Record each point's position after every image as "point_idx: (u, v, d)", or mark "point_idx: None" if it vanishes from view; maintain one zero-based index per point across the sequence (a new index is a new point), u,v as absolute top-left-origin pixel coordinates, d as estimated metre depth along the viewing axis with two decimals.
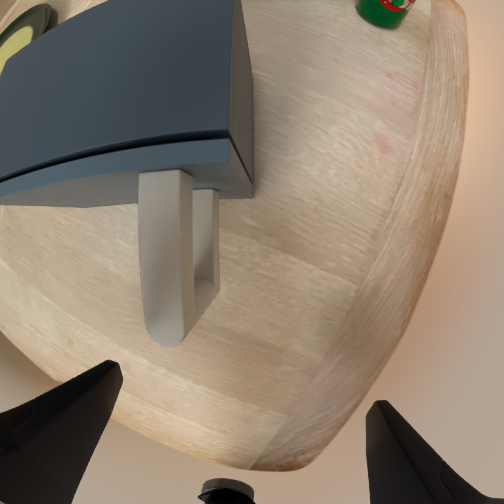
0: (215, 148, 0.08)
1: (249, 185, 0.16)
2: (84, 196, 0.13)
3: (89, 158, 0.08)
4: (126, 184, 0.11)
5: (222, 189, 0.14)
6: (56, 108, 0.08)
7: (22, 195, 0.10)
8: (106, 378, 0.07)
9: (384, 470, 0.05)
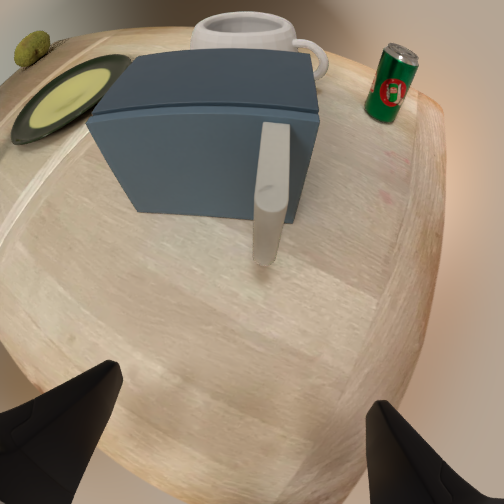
0: (312, 116, 0.14)
1: None
2: (177, 164, 0.19)
3: (230, 107, 0.14)
4: (234, 145, 0.17)
5: None
6: (202, 83, 0.15)
7: (144, 127, 0.15)
8: (106, 378, 0.07)
9: (384, 470, 0.05)
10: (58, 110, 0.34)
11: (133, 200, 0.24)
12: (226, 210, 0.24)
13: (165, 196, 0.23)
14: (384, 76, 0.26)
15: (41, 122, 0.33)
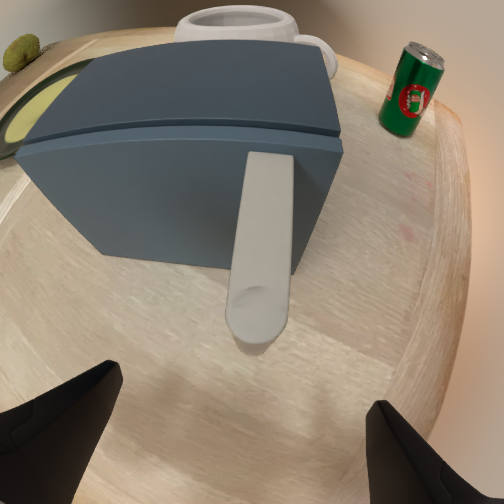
0: (330, 141, 0.09)
1: None
2: (132, 209, 0.13)
3: (195, 126, 0.09)
4: (205, 185, 0.11)
5: None
6: (160, 89, 0.10)
7: (77, 161, 0.10)
8: (106, 378, 0.07)
9: (384, 470, 0.05)
10: (33, 121, 0.29)
11: (93, 243, 0.18)
12: (207, 260, 0.19)
13: (128, 242, 0.17)
14: (404, 81, 0.21)
15: (15, 136, 0.27)
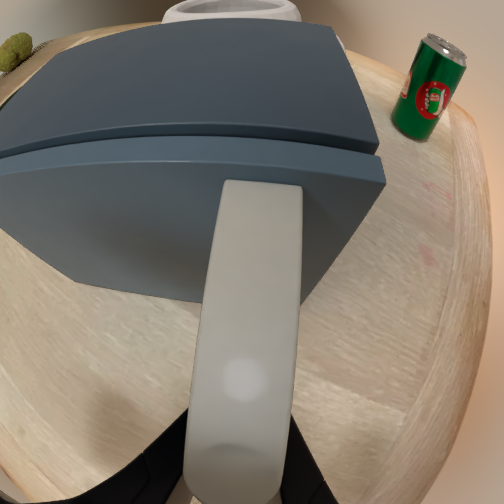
0: (365, 162, 0.05)
1: None
2: (87, 245, 0.10)
3: (141, 139, 0.05)
4: (168, 225, 0.07)
5: None
6: (108, 84, 0.06)
7: (9, 192, 0.06)
8: None
9: None
10: None
11: (62, 272, 0.15)
12: (190, 296, 0.15)
13: (97, 274, 0.14)
14: (423, 77, 0.17)
15: None
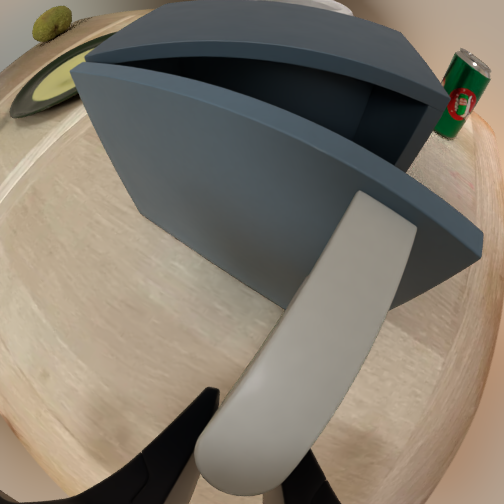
0: (471, 232, 0.05)
1: None
2: (179, 186, 0.11)
3: (296, 116, 0.06)
4: (277, 204, 0.08)
5: None
6: (268, 26, 0.08)
7: (129, 101, 0.07)
8: (213, 408, 0.07)
9: None
10: (66, 82, 0.28)
11: (133, 198, 0.17)
12: (245, 277, 0.16)
13: (168, 217, 0.15)
14: (454, 84, 0.18)
15: (44, 95, 0.26)
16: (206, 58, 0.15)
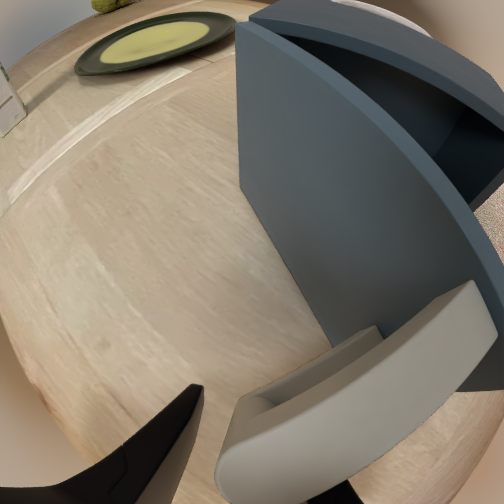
0: None
1: None
2: (300, 184, 0.11)
3: (450, 183, 0.05)
4: (390, 251, 0.07)
5: None
6: (417, 50, 0.08)
7: (292, 82, 0.08)
8: (196, 405, 0.07)
9: None
10: (140, 50, 0.30)
11: (241, 171, 0.17)
12: (311, 295, 0.15)
13: (268, 204, 0.15)
14: None
15: (115, 58, 0.29)
16: (325, 55, 0.16)
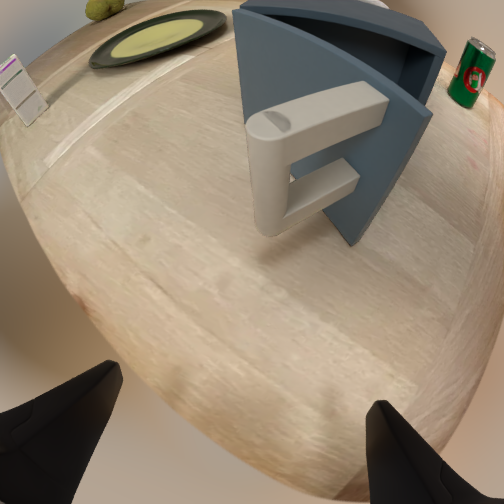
0: (422, 108, 0.08)
1: (373, 215, 0.15)
2: (281, 91, 0.16)
3: (344, 52, 0.10)
4: None
5: (361, 187, 0.14)
6: (348, 10, 0.13)
7: (267, 34, 0.12)
8: (106, 378, 0.07)
9: (384, 470, 0.05)
10: (146, 45, 0.35)
11: (244, 109, 0.22)
12: None
13: None
14: (468, 64, 0.20)
15: (126, 53, 0.34)
16: None
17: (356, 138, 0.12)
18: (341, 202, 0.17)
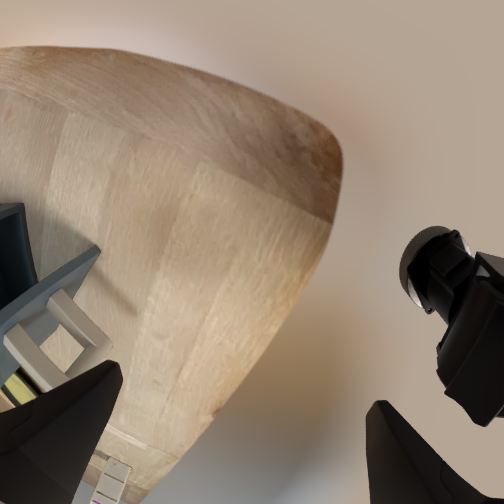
0: None
1: (69, 267, 0.17)
2: None
3: None
4: None
5: (56, 289, 0.16)
6: None
7: (4, 371, 0.14)
8: (106, 378, 0.07)
9: (384, 470, 0.05)
10: None
11: (46, 337, 0.24)
12: (70, 295, 0.22)
13: (48, 328, 0.22)
14: None
15: None
16: None
17: (31, 315, 0.14)
18: (73, 280, 0.19)
